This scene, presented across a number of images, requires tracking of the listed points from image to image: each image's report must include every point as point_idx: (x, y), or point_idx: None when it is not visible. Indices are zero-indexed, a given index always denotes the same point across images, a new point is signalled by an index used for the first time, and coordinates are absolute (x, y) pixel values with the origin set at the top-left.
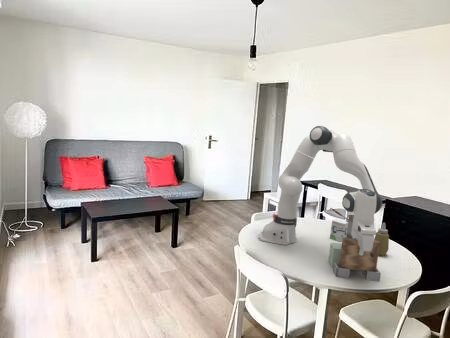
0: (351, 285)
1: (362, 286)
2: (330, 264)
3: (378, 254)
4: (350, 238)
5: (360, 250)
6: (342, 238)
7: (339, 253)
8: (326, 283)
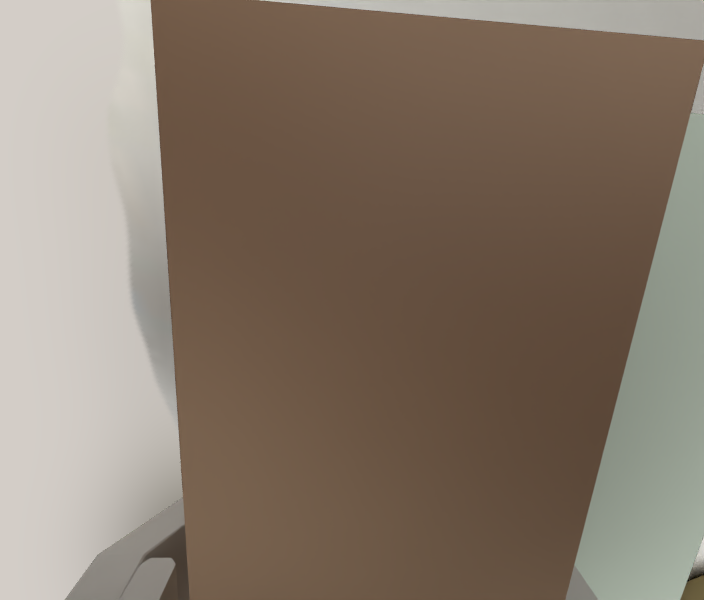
0: (156, 244)
1: (165, 326)
2: None
3: (684, 593)
4: (497, 545)
5: (158, 522)
6: (615, 79)
7: None
8: (125, 17)
